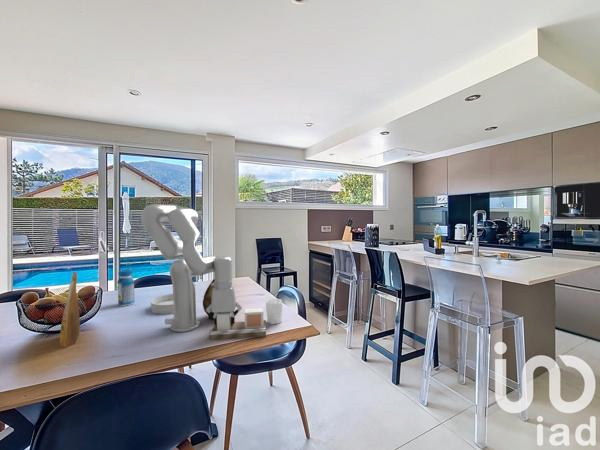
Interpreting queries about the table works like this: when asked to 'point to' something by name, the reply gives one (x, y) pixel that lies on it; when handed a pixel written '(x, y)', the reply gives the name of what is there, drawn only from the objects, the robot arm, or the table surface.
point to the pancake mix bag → (70, 316)
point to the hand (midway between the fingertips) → (224, 325)
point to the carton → (254, 318)
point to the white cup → (274, 311)
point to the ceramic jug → (208, 299)
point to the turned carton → (223, 321)
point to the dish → (163, 304)
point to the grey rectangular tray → (238, 332)
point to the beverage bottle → (125, 288)
